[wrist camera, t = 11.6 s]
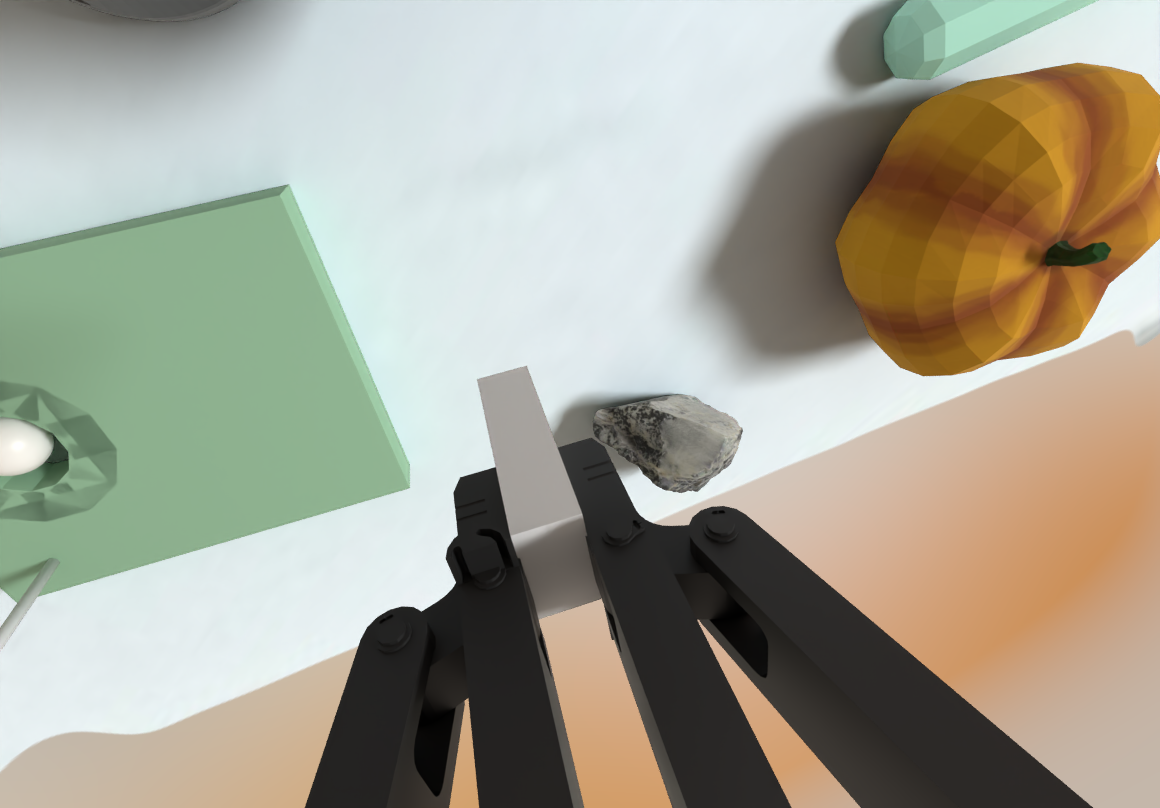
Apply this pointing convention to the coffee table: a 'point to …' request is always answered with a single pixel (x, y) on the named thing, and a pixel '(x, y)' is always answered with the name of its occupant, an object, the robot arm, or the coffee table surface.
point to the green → (179, 392)
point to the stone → (671, 439)
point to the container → (961, 31)
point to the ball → (22, 446)
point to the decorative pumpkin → (1004, 216)
